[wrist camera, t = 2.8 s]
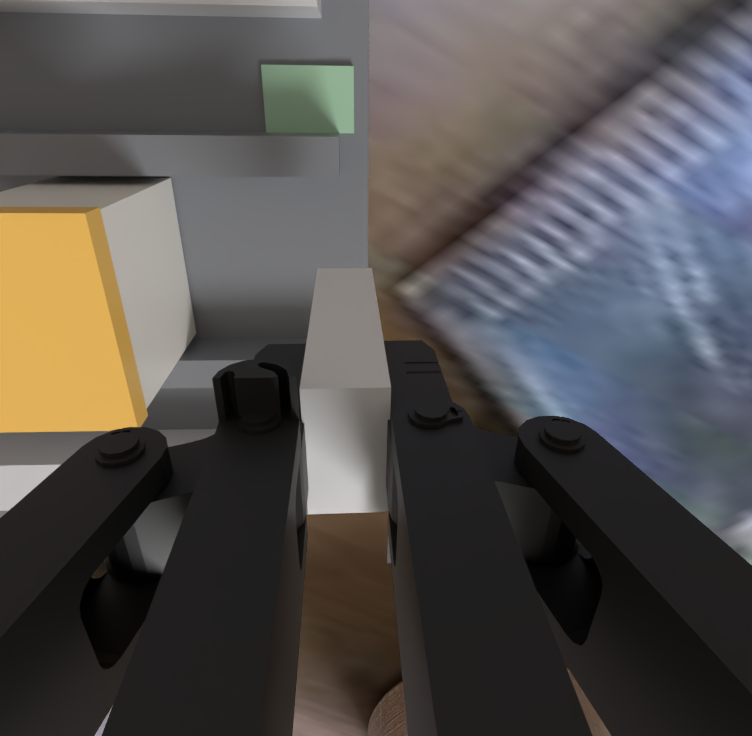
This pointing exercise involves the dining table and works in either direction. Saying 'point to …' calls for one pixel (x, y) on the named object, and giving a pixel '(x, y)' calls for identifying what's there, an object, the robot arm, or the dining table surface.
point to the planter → (391, 722)
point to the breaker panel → (198, 164)
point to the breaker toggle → (89, 302)
